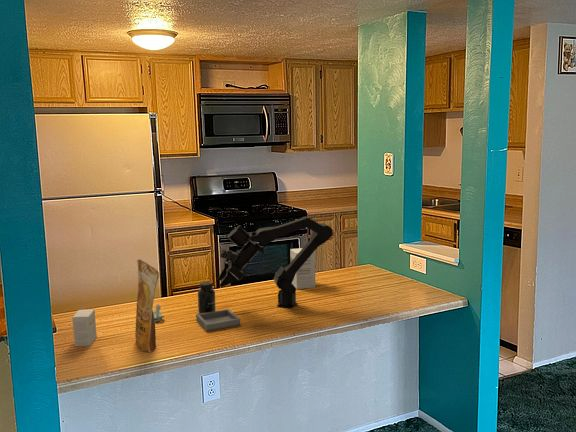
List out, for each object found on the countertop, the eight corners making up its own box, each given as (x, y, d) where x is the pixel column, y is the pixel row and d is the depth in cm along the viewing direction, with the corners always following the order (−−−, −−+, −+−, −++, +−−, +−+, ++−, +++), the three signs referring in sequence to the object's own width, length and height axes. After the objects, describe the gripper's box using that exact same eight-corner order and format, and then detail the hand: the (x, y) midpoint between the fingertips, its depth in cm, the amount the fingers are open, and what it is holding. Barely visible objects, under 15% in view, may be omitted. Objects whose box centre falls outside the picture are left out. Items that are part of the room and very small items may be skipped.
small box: (81, 337, 194) (78, 309, 192) (97, 337, 194) (94, 308, 192) (74, 346, 186) (71, 317, 184) (91, 345, 186) (88, 316, 185)
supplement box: (290, 284, 255) (289, 248, 252) (309, 282, 258) (308, 247, 255) (296, 289, 246) (296, 253, 243) (316, 287, 249) (315, 251, 246)
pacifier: (150, 324, 206) (165, 321, 209) (148, 308, 205) (164, 305, 208) (145, 319, 213) (160, 315, 215) (144, 303, 212) (159, 300, 214)
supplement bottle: (212, 315, 214) (211, 286, 212) (196, 314, 215) (194, 285, 213) (218, 310, 220) (216, 281, 219) (202, 309, 222) (200, 280, 220)
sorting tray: (228, 315, 214) (228, 308, 214) (240, 325, 203) (240, 318, 202) (196, 320, 209) (196, 314, 208) (206, 331, 197) (206, 324, 197)
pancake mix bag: (151, 333, 197) (146, 257, 192) (164, 351, 180) (159, 269, 176) (132, 336, 194) (127, 259, 190) (143, 355, 177) (138, 271, 173)
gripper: (229, 236, 224) (203, 264, 224) (233, 245, 206) (205, 276, 206) (248, 254, 227) (222, 281, 227) (255, 264, 209) (227, 294, 209)
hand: (219, 283), depth 217 cm, fingers open, 9 cm apart
